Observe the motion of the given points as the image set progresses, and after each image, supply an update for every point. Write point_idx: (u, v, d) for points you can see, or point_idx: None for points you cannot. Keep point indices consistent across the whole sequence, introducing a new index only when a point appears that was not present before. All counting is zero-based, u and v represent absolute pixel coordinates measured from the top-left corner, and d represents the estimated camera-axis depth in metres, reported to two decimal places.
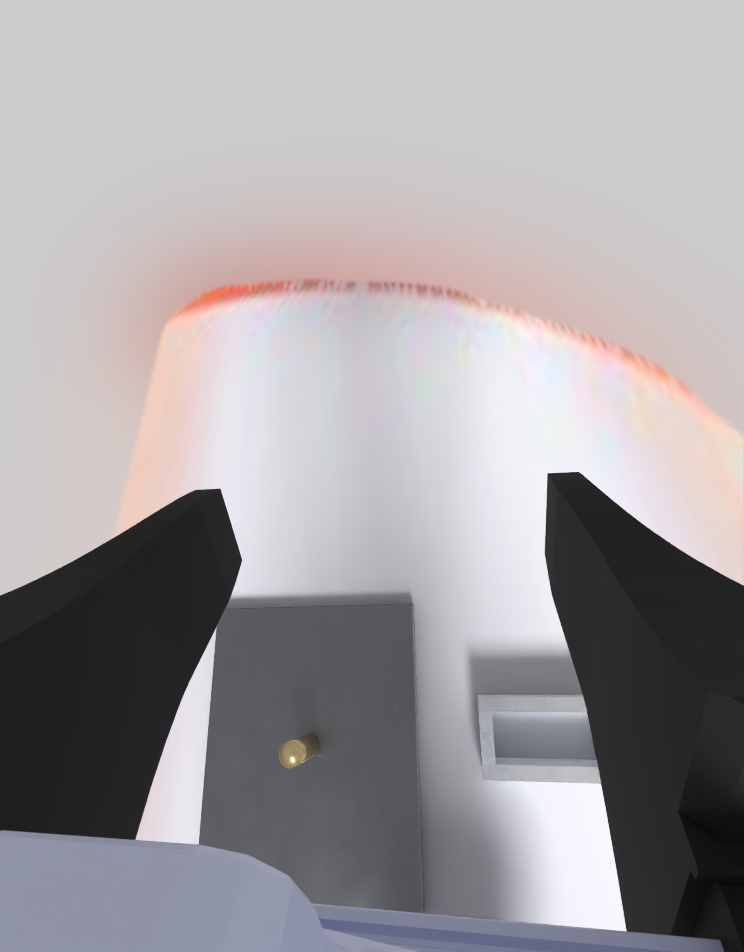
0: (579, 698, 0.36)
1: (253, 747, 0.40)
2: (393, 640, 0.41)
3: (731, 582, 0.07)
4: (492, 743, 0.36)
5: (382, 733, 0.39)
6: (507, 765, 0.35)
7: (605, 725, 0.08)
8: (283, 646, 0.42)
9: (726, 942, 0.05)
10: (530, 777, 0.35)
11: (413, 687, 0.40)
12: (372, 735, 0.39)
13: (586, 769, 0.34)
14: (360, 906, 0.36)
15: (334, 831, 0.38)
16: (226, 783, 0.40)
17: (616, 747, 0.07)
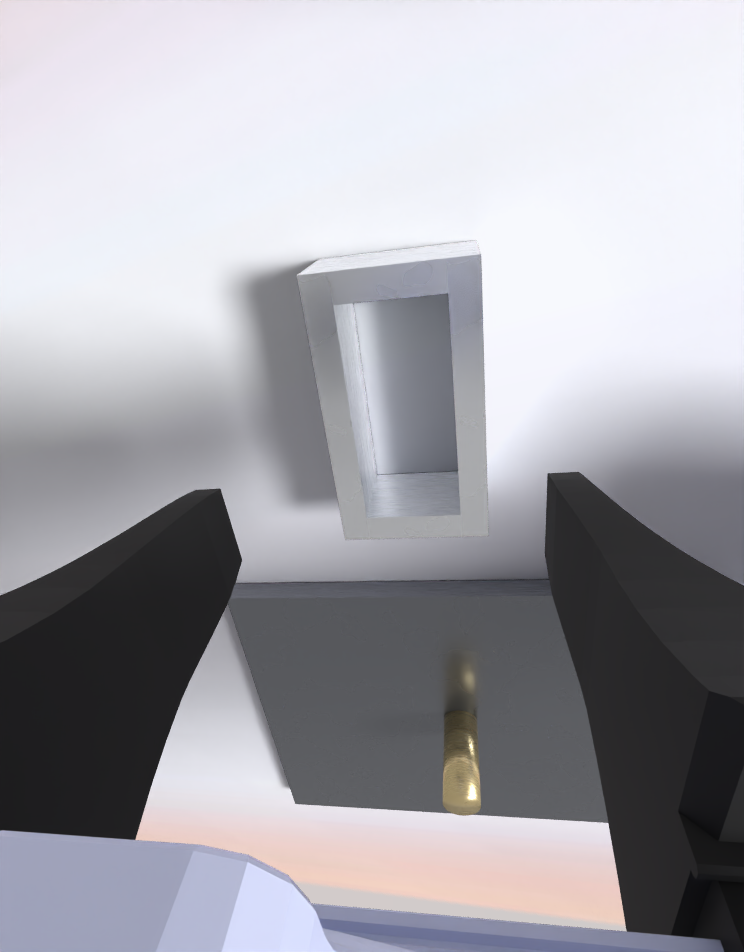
0: (314, 359, 0.16)
1: None
2: (290, 623, 0.25)
3: (731, 582, 0.07)
4: (423, 519, 0.18)
5: (433, 638, 0.24)
6: (460, 494, 0.18)
7: (605, 725, 0.08)
8: (328, 744, 0.29)
9: (726, 943, 0.05)
10: (479, 458, 0.17)
11: (357, 599, 0.23)
12: (437, 650, 0.24)
13: (457, 350, 0.15)
14: None
15: (576, 695, 0.24)
16: (514, 797, 0.29)
17: (616, 747, 0.07)
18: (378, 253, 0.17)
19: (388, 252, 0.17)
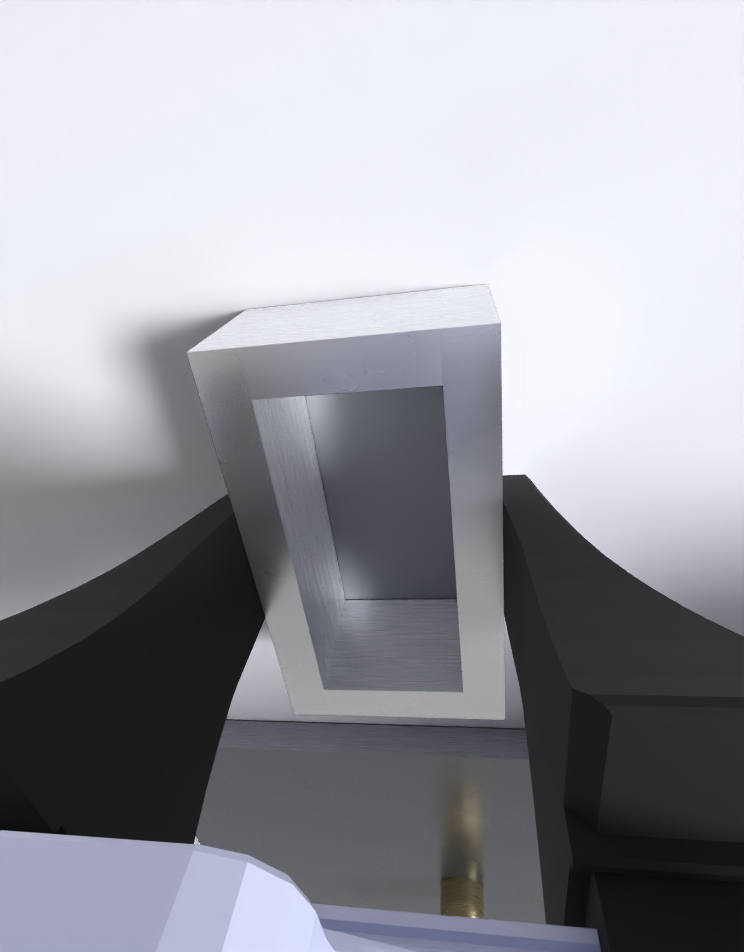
0: (228, 478, 0.10)
1: None
2: (235, 775, 0.18)
3: (639, 583, 0.07)
4: (407, 695, 0.12)
5: (425, 801, 0.18)
6: (463, 666, 0.12)
7: (531, 723, 0.08)
8: None
9: (599, 931, 0.05)
10: (493, 622, 0.11)
11: (322, 753, 0.17)
12: (431, 813, 0.18)
13: (458, 472, 0.09)
14: None
15: None
16: None
17: (536, 744, 0.07)
18: (334, 304, 0.11)
19: (349, 303, 0.11)
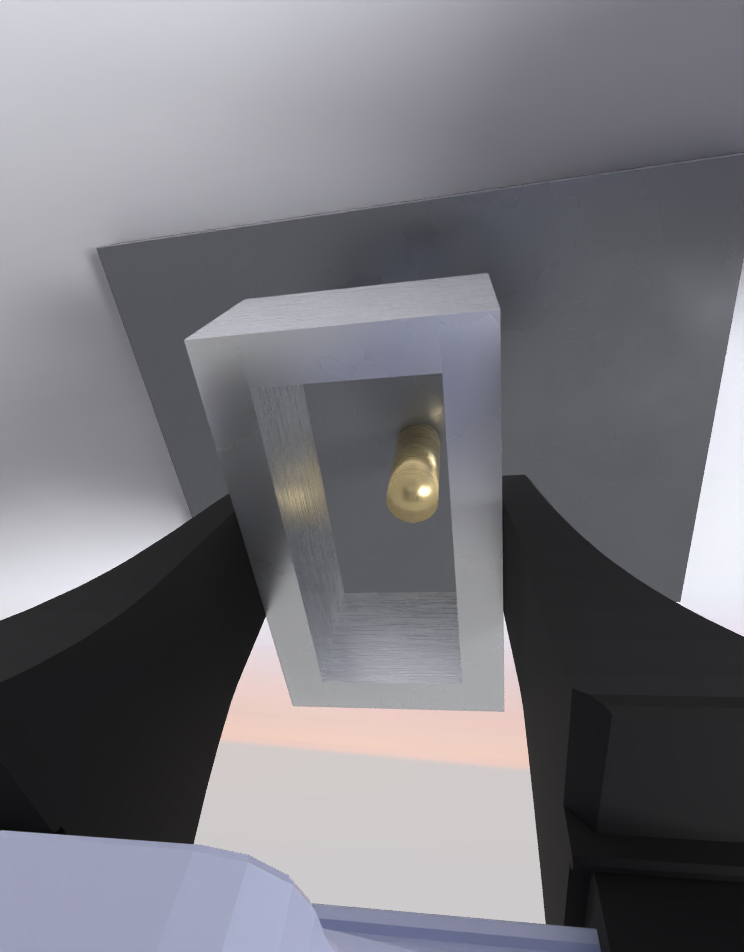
0: (226, 468, 0.10)
1: (431, 535, 0.22)
2: (184, 285, 0.18)
3: (639, 583, 0.07)
4: (406, 687, 0.12)
5: None
6: (462, 657, 0.12)
7: (531, 723, 0.08)
8: None
9: (599, 930, 0.05)
10: (493, 614, 0.11)
11: (267, 226, 0.17)
12: None
13: (457, 461, 0.09)
14: (717, 307, 0.17)
15: (570, 378, 0.18)
16: None
17: (536, 744, 0.07)
18: (332, 293, 0.11)
19: (348, 292, 0.11)
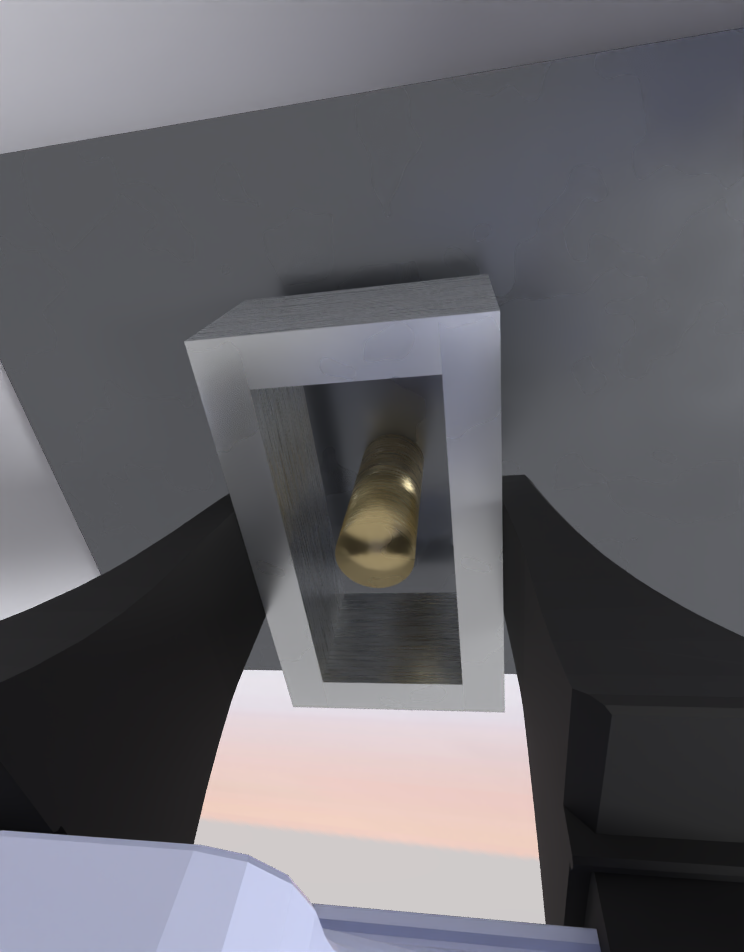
0: (226, 469, 0.10)
1: (411, 585, 0.16)
2: (44, 227, 0.12)
3: (639, 583, 0.07)
4: (406, 688, 0.12)
5: (323, 238, 0.12)
6: (462, 658, 0.12)
7: (530, 723, 0.08)
8: None
9: (599, 930, 0.05)
10: (492, 615, 0.11)
11: (157, 132, 0.11)
12: (334, 272, 0.12)
13: (457, 462, 0.09)
14: None
15: (613, 370, 0.12)
16: None
17: (536, 744, 0.07)
18: (332, 294, 0.11)
19: (348, 293, 0.11)
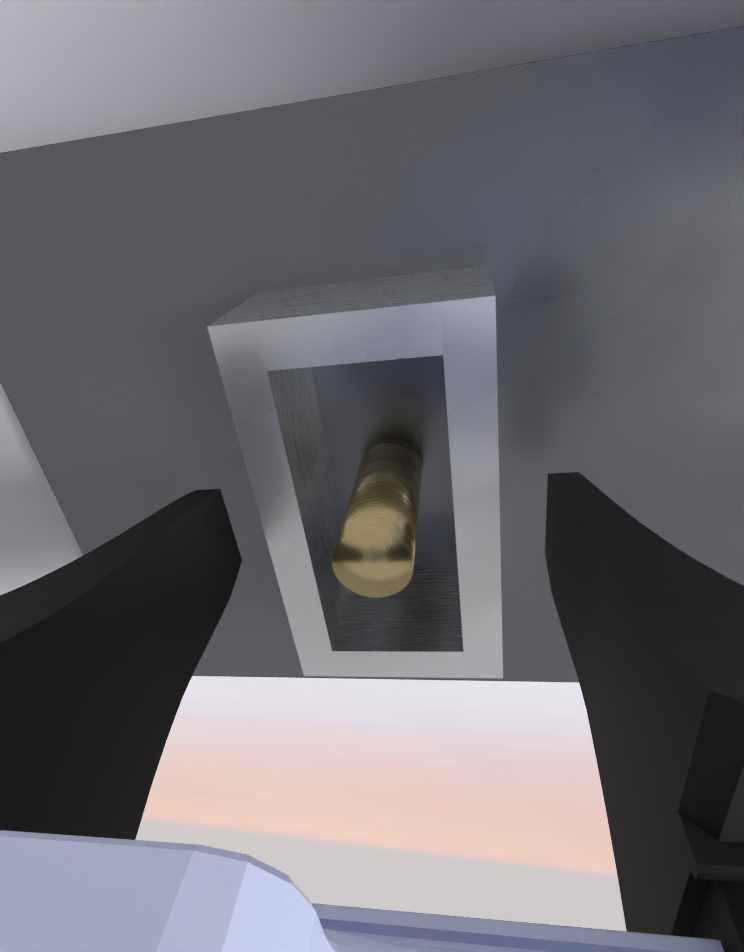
0: (244, 446, 0.11)
1: None
2: (36, 229, 0.12)
3: (731, 582, 0.07)
4: (411, 655, 0.13)
5: (320, 240, 0.11)
6: (463, 626, 0.13)
7: (605, 725, 0.08)
8: None
9: (726, 942, 0.05)
10: (491, 583, 0.12)
11: (150, 132, 0.11)
12: (331, 275, 0.12)
13: (458, 437, 0.10)
14: None
15: (616, 375, 0.12)
16: None
17: (616, 747, 0.07)
18: (341, 285, 0.11)
19: (355, 284, 0.11)
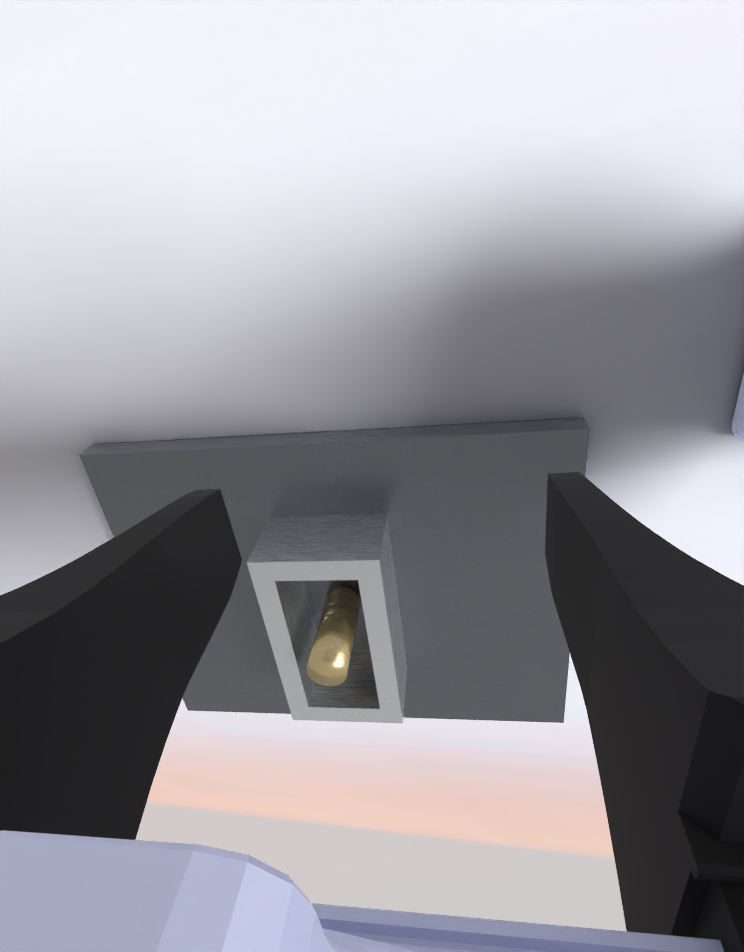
0: (262, 610, 0.21)
1: None
2: (150, 483, 0.23)
3: (731, 582, 0.07)
4: (352, 710, 0.24)
5: (302, 498, 0.22)
6: (379, 696, 0.23)
7: (605, 725, 0.08)
8: None
9: (726, 943, 0.05)
10: (391, 676, 0.22)
11: (216, 450, 0.21)
12: (308, 512, 0.22)
13: (367, 612, 0.21)
14: None
15: (460, 563, 0.23)
16: (410, 694, 0.27)
17: (616, 747, 0.07)
18: (313, 521, 0.22)
19: (320, 522, 0.22)
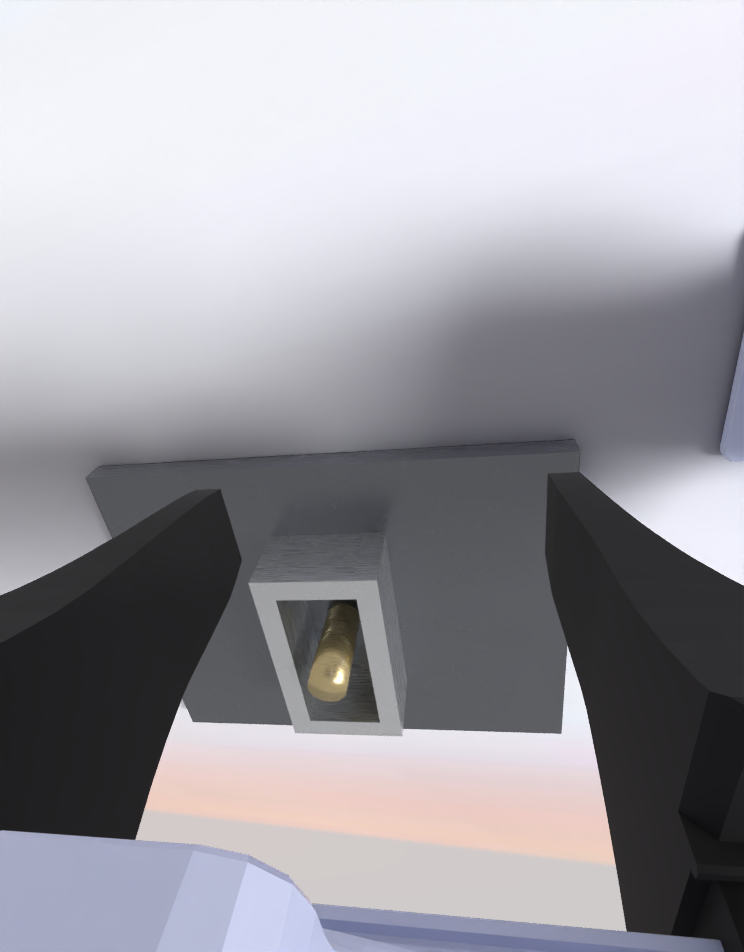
0: (264, 628, 0.22)
1: None
2: (154, 504, 0.23)
3: (731, 582, 0.07)
4: (352, 724, 0.24)
5: (302, 518, 0.23)
6: (379, 710, 0.24)
7: (605, 725, 0.08)
8: (215, 649, 0.27)
9: (726, 942, 0.05)
10: (390, 691, 0.23)
11: (218, 472, 0.22)
12: (308, 531, 0.23)
13: (366, 630, 0.21)
14: None
15: (457, 580, 0.23)
16: (411, 706, 0.28)
17: (616, 747, 0.07)
18: (313, 541, 0.23)
19: (320, 541, 0.23)
